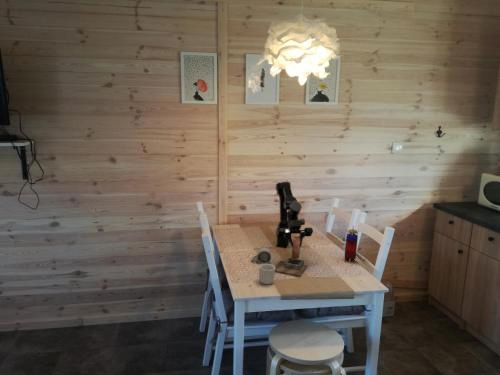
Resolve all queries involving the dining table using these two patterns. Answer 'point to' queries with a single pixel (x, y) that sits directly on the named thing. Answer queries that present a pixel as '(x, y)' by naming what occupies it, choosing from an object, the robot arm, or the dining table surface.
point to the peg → (296, 247)
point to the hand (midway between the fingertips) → (296, 246)
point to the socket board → (291, 267)
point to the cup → (266, 273)
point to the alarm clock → (351, 244)
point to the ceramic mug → (262, 256)
